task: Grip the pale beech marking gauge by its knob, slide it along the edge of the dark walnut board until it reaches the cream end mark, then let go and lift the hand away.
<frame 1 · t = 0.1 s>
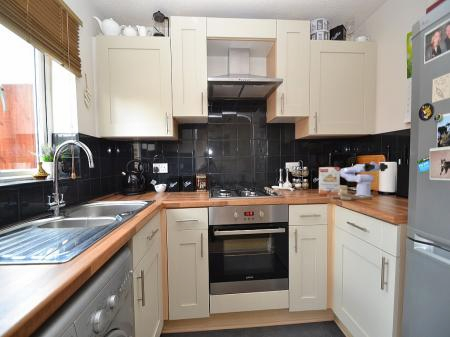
hand: (380, 166, 140), 22 cm above the countertop, tool horizontal, fingers open, 7 cm apart
board: (348, 198, 150), on the countertop
cracker box: (329, 194, 169), on the countertop
gauge: (343, 192, 147), point 5 cm above the countertop, slide at 0.0 cm
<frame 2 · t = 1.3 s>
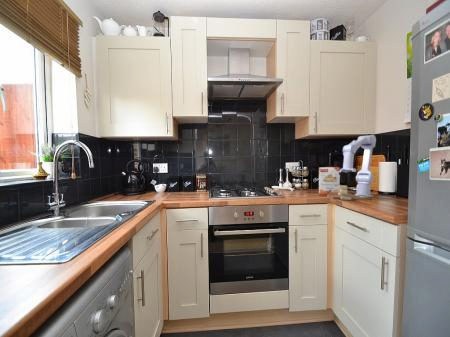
hand: (346, 182, 145), 11 cm above the countertop, tool pointing down, fingers open, 7 cm apart
nothing on the countertop moved.
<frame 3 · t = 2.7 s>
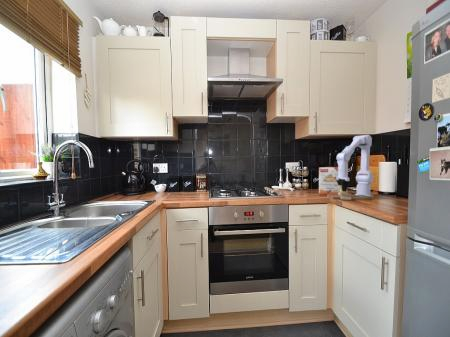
hand: (342, 190, 147), 5 cm above the countertop, tool pointing down, fingers closed on gauge, 4 cm apart
gauge: (343, 192, 147), point 5 cm above the countertop, slide at 0.0 cm, touching gripper
everything else where it was.
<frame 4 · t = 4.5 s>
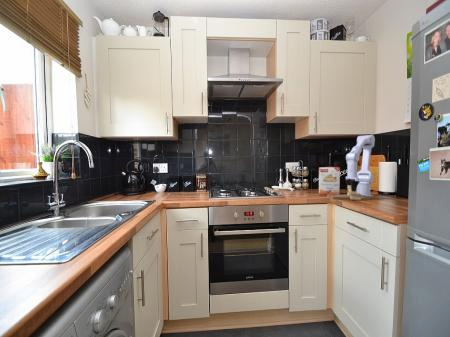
hand: (352, 190, 147), 5 cm above the countertop, tool pointing down, fingers closed on gauge, 4 cm apart
gauge: (352, 192, 146), point 5 cm above the countertop, slide at 6.0 cm, touching gripper
everything else where it was.
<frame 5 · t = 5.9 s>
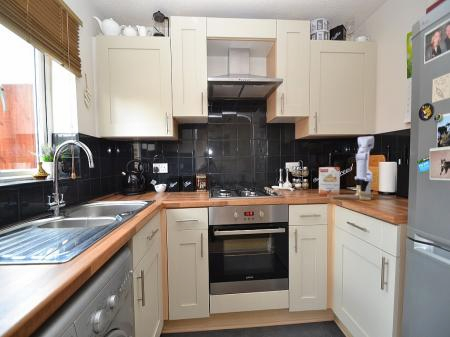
hand: (361, 190, 146), 5 cm above the countertop, tool pointing down, fingers closed on gauge, 4 cm apart
gauge: (361, 192, 145), point 5 cm above the countertop, slide at 11.9 cm, touching gripper
everything else where it was.
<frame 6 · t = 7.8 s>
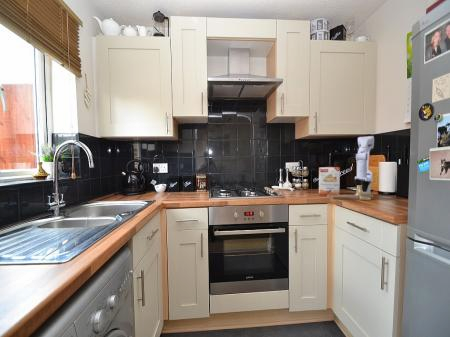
hand: (361, 190, 146), 5 cm above the countertop, tool pointing down, fingers open, 7 cm apart
gauge: (362, 192, 145), point 5 cm above the countertop, slide at 12.0 cm
everything else where it was.
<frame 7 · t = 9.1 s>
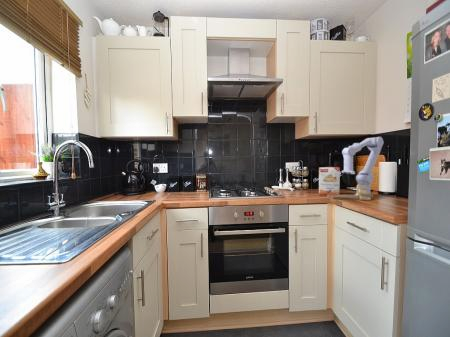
hand: (348, 183, 154), 9 cm above the countertop, tool pointing down, fingers open, 7 cm apart
nothing on the countertop moved.
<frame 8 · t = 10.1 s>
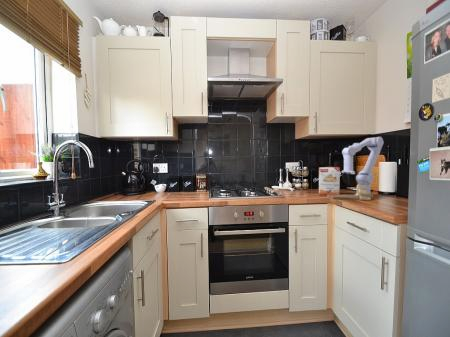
hand: (348, 183, 154), 9 cm above the countertop, tool pointing down, fingers open, 7 cm apart
nothing on the countertop moved.
at the end: gauge slide at 12.0 cm; the gripper is holding nothing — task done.
